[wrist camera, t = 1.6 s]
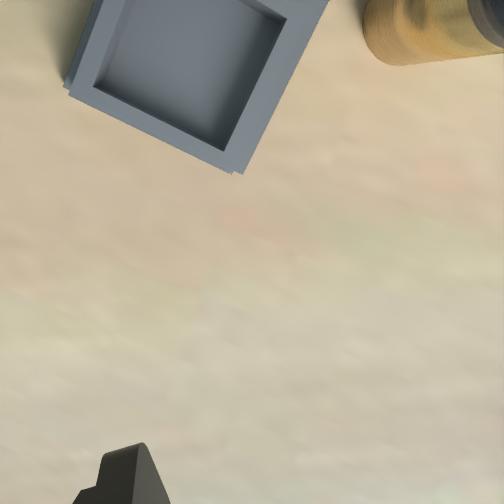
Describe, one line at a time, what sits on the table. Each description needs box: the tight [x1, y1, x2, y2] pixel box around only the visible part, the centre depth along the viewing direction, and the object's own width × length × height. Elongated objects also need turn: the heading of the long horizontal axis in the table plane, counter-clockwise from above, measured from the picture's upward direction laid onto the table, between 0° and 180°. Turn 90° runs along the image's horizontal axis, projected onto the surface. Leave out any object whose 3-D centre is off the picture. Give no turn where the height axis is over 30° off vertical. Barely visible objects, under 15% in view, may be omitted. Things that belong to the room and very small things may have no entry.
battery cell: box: [363, 0, 504, 66], centre depth 23 cm, size 5×5×15 cm
